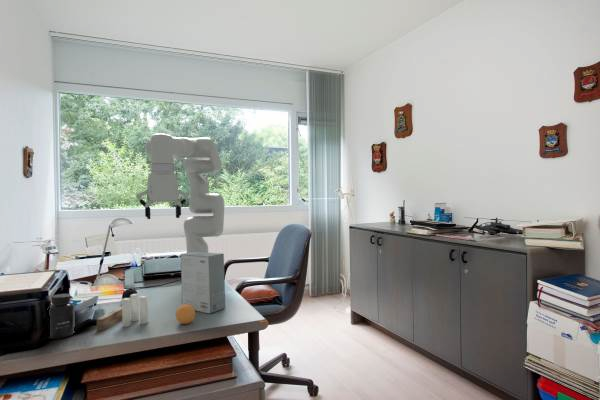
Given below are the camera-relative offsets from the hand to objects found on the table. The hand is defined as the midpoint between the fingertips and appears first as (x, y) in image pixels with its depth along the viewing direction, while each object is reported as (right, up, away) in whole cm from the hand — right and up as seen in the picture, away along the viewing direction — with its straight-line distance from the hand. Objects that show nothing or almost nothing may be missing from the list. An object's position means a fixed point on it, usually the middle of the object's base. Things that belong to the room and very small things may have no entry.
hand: (163, 218), depth 130 cm
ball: (+11, -30, -11) cm, 34 cm away
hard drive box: (+13, -33, +5) cm, 36 cm away
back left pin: (-7, -34, -12) cm, 36 cm away
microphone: (-21, -34, +21) cm, 45 cm away
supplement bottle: (-24, -34, -19) cm, 46 cm away
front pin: (-3, -34, -10) cm, 35 cm away
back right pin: (-7, -34, -7) cm, 35 cm away
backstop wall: (-13, -34, -9) cm, 37 cm away
